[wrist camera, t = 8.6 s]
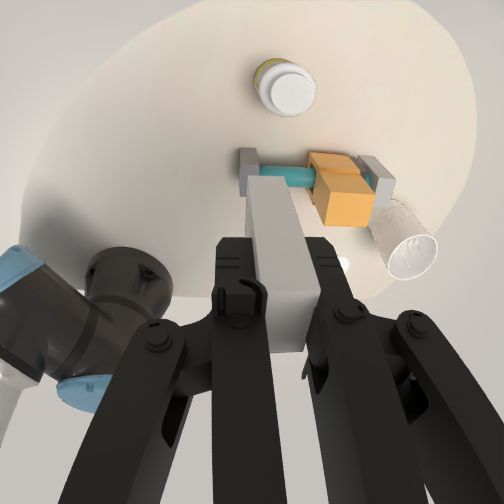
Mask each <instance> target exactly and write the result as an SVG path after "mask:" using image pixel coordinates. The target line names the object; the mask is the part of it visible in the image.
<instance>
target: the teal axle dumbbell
mask: <svg viewBox="0 0 504 504" xmlns="http://www.w3.org/2000/svg"><path fill="white" fill-rule="evenodd" d="M348 157H349V156H348ZM349 158H350V159H351V160H352V161H353V163H354V164H355V165H356V166H357V167H358V169H359V170H360V175H361V176H362V177H363V179H364V180H365V181H366V183H367V184H368V185H369V186H370V188H371V189H372V190H373V192H374V193H375V194H376V197H375V200H374V204H373V207H376V208H388V207H389V204H390V201H391V197H392V194H393V190H394V186H395V183H396V179H395V178H394V177H393V175H392V174H391V173H390V172H389V171H388V170H387V169H386V168H385V167H384V166H383V165H382V164H381V163H380V162H379V161H378V160H377V159H376V158H375V157H371V156H362V155H359V157H358V160H357V159H356V158H355V157H349ZM248 175H252V176H284V178H285V181H286V184H287V187H307V188H314V184H315V178H316V169H315V168H305V167H284V166H259V160H258V156H257V151H256V148H240V157H239V188H240V197H247V180H248Z"/></svg>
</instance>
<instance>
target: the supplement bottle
mask: <svg viewBox="0 0 504 504" xmlns="http://www.w3.org/2000/svg"><path fill="white" fill-rule="evenodd" d="M254 85H255V89H256V91H257V93H258V95H259V97H260V99H261V101H262V103H263V104H264V106H265V107H266V108H267V109H268V110H269V111H271V112H272V113H274V114H276V115H278V116H283V117H294V116H298V115H300V114H302V113H304V112H305V111H307V110H308V109H309V108H310V107H311V106H312V104H313V102H314V100H315V98H316V93H317V87H316V83H315V80H314V78H313V76H312V75H311V73H310V72H309V71H308V70H307V69H305V68H304V67H302V66H300V65H298V64H295V63H293V62H290V61H288V60H285V59H271V60H268V61H266V62H264V63H263V64H261V65H260V66H259V68H258V69H257V71H256V73H255V76H254Z"/></svg>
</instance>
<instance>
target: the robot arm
mask: <svg viewBox="0 0 504 504" xmlns="http://www.w3.org/2000/svg"><path fill="white" fill-rule="evenodd" d="M245 236H246V238H245V237H223V238H222V239H221V241H220V242H219V243H218V245H217V246H216V263H215V286H214V288H213V291H212V294H211V296H212V310H211V311H210V313H209V314H208V315H207V316H206V317H204V318H203V319H201V320H200V321H197V322H195V323H192V324H188V325H184V326H179V325H177V324H176V323H175V322H173V321H170V320H168V319H161V318H162V316H163V315H164V313H165V312H166V310H167V308H168V307H169V305H170V301H171V297H172V291H173V284H172V280H171V277H170V275H169V273H168V271H167V270H166V269H165V267H164V266H163V265H162V264H161V263H160V262H159V261H157V260H156V259H155V258H153V257H152V256H150V255H148V254H146V253H144V252H142V251H139V250H136V249H131V248H124V247H117V248H110V249H107V250H104V251H102V252H100V253H98V254H97V255H96V256H95V257H94V258H93V259H92V261H91V263H90V265H89V267H88V269H87V272H86V275H85V297H84V296H83V295H82V294H80V293H79V292H78V291H77V290H76V289H74V288H73V287H72V286H71V285H70V284H68V283H67V282H66V281H65V280H64V279H62V278H61V277H60V276H59V275H58V274H57V273H55V272H54V271H53V270H52V269H51V268H50V267H49V266H47V265H46V264H45V263H46V262H45V261H44V260H41V259H39V258H38V257H37V256H36V255H34V254H33V253H32V252H31V251H30V250H28V249H27V248H26V247H24V246H22V245H14V246H12V247H10V248H9V249H8V250H7V251H6V252H5V253H4V254H3V255H2V256H1V257H0V447H1V444H2V441H3V438H4V435H5V432H6V430H7V427H8V424H9V421H10V419H11V417H12V414H13V412H14V409H15V406H16V404H17V402H18V399H19V397H20V394H21V392H22V391H23V390H24V389H25V388H30V387H33V386H37V385H38V384H39V382H40V380H41V378H42V376H43V373H45V374H47V375H49V376H50V377H52V378H54V379H55V380H57V381H58V384H57V386H56V388H57V394H58V396H59V398H61V399H62V401H63V402H65V403H66V404H68V405H70V406H72V407H74V408H77V409H79V410H82V411H86V412H90V413H94V414H95V415H94V417H93V419H92V421H91V423H90V426H89V428H88V430H87V433H86V435H85V437H84V439H83V442H82V444H81V447H80V449H79V451H78V454H77V456H76V459H75V461H74V463H73V466H72V468H71V471H70V473H69V476H68V478H67V481H66V483H65V486H64V489H63V491H62V494H61V496H60V499H59V502H58V504H160V501H161V497H162V494H163V491H164V488H165V484H166V481H167V478H168V475H169V472H170V468H171V465H172V462H173V459H174V456H175V452H176V449H177V446H178V443H179V440H180V437H181V434H182V430H183V427H184V424H185V421H186V418H187V415H188V412H189V408H190V405H191V402H192V399H193V396H194V395H196V394H200V393H203V392H206V391H210V390H212V470H213V471H212V474H213V504H287V497H286V488H285V479H284V471H283V462H282V453H281V445H280V437H279V428H278V419H277V411H276V402H275V393H274V386H273V377H272V369H271V361H270V353H286V352H303V350H304V346H305V343H306V344H307V349H308V357H307V360H306V363H305V366H304V369H303V371H302V379H305V378H306V375H308V381H309V387H310V392H311V398H312V403H313V408H314V414H315V420H316V426H317V432H318V438H319V443H320V450H321V456H322V462H323V468H324V475H325V481H326V488H327V494H328V501H329V504H429V503H428V499H427V495H426V490H425V486H426V488H427V490H428V492H429V494H430V496H431V497H432V499H433V501H434V503H435V504H504V423H503V421H502V420H501V418H500V416H499V415H498V413H497V412H496V410H495V409H494V407H493V405H492V404H491V402H490V401H489V399H488V398H487V396H486V394H485V393H484V391H483V390H482V389H481V387H480V385H479V384H478V383H477V381H476V380H475V378H474V377H473V375H472V374H471V372H470V371H469V369H468V368H467V367H466V365H465V364H464V362H463V361H462V359H461V358H460V357H459V355H458V354H457V353H456V351H455V350H454V348H453V347H452V346H451V344H450V343H449V342H448V340H447V339H446V338H445V336H444V335H443V333H442V332H441V331H440V330H439V328H438V327H437V326H436V324H435V323H434V322H433V321H432V320H431V319H430V318H429V317H428V316H427V315H426V314H424V313H422V312H420V311H415V310H407V311H404V312H402V313H401V314H400V315H399V317H398V318H397V320H393V319H389V318H383V317H378V316H376V315H372V314H370V313H369V311H368V309H367V308H366V306H365V305H364V304H363V303H361V302H360V301H359V300H357V299H354V297H353V295H352V292H351V289H350V287H349V284H348V282H347V279H346V277H345V274H344V272H343V269H342V267H341V264H340V262H339V259H337V254H336V252H335V249H334V247H333V246H332V245H331V244H330V243H329V242H328V241H327V240H326V239H325V238H324V237H304V234H303V231H302V228H301V225H300V222H299V219H298V216H297V213H296V210H295V207H294V204H293V201H292V198H291V195H290V193H289V190H288V187H287V184H286V181H285V178H284V176H252V175H248V180H247V200H246V220H245ZM424 484H425V486H424Z"/></svg>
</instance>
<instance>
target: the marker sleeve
mask: <svg viewBox="0 0 504 504" xmlns="http://www.w3.org/2000/svg"><path fill="white" fill-rule="evenodd" d="M308 168H315V169H316V178H315V184H314V188H307V187H305V188H306V190H307V192H308V195H309V197H310V199H311V201H312V204H313V205H315V206H316V209H317V211H318V213H319V216H320V218H321V220H322V222H323V225H324V226H347V227H367V226H368V222H369V219H370V215H371V211H372V208H373V204H374V200H375V197H376V194H375V193H374V192H373V190H372V189H371V188H370V186H369V185H368V184H367V183H366V181H365V180H364V179H363V177H362V176H361V175H360V170H359V169H358V167H357V166H356V165H355V164H354V163H353V161H352V160H351V159H350V158H349V157H348V155H338V154H327V153H313V152H310V154H309V161H308Z"/></svg>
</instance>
